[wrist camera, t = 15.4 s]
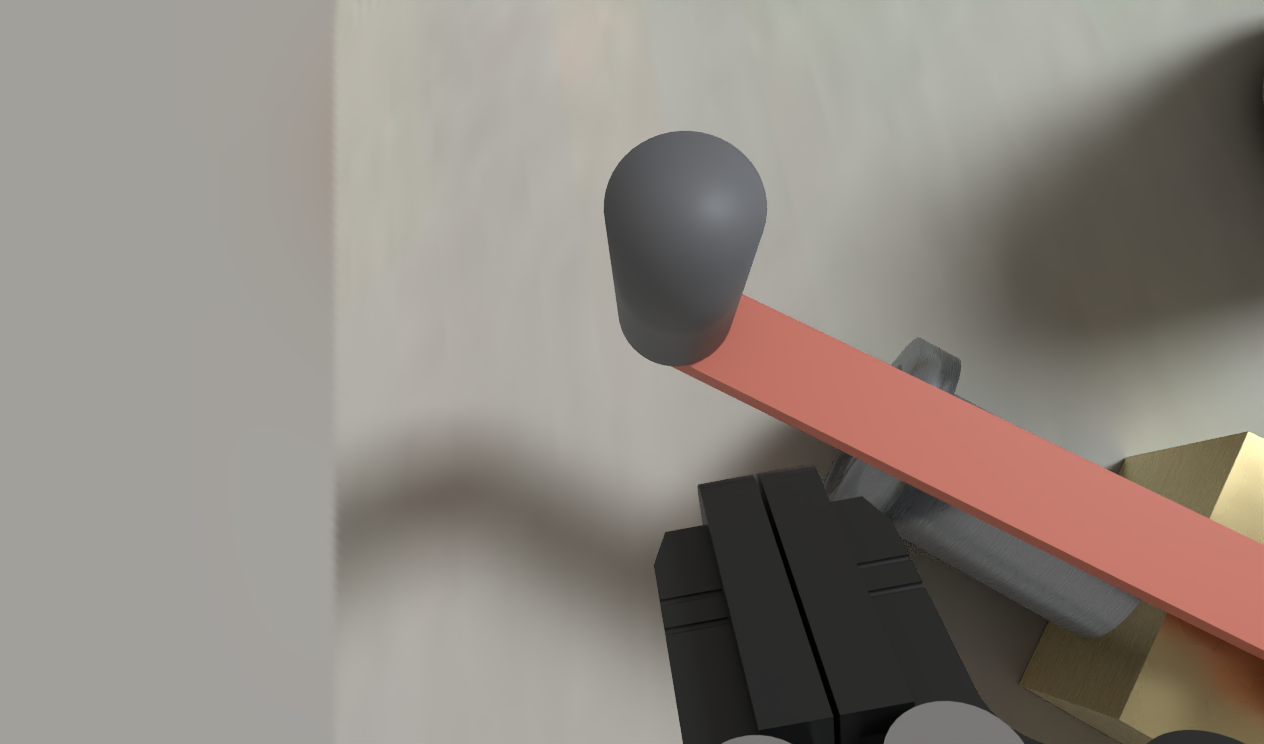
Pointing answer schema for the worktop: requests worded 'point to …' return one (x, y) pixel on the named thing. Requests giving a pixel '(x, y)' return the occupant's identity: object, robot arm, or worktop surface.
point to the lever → (892, 396)
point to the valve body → (1098, 587)
